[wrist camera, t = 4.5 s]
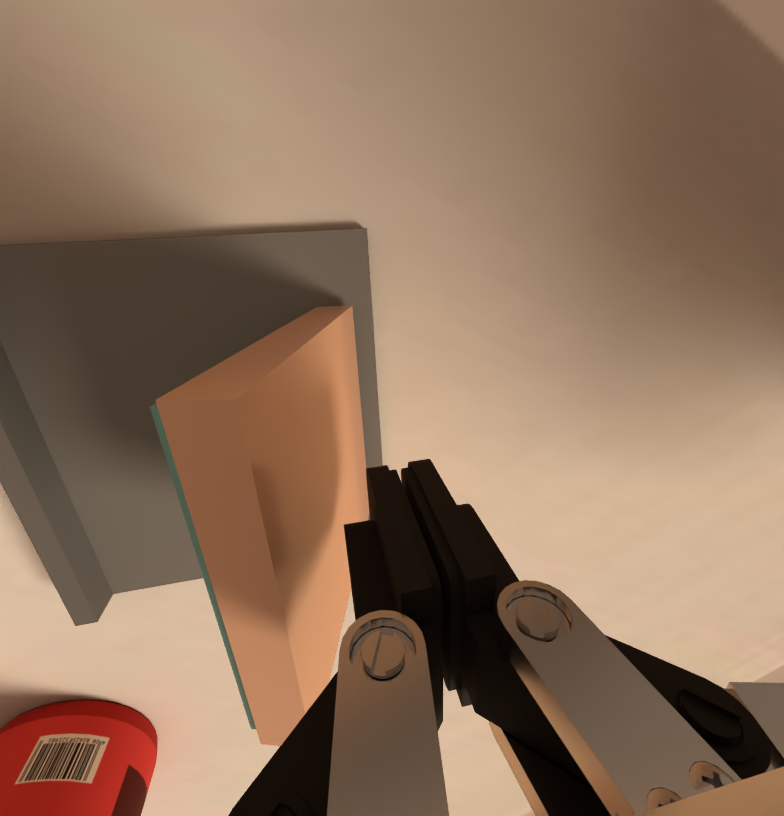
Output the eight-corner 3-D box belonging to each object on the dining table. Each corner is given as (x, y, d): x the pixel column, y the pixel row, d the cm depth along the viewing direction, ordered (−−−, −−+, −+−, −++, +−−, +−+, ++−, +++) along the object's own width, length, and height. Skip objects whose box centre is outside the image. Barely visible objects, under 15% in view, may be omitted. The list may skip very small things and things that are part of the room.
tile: (352, 305, 14) (236, 399, 6) (369, 510, 18) (312, 748, 9) (309, 306, 14) (137, 400, 6) (335, 509, 18) (248, 742, 10)
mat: (365, 229, 14) (372, 226, 12) (386, 539, 19) (393, 566, 18) (-62, 249, 12) (-121, 249, 10) (97, 590, 17) (75, 626, 16)
